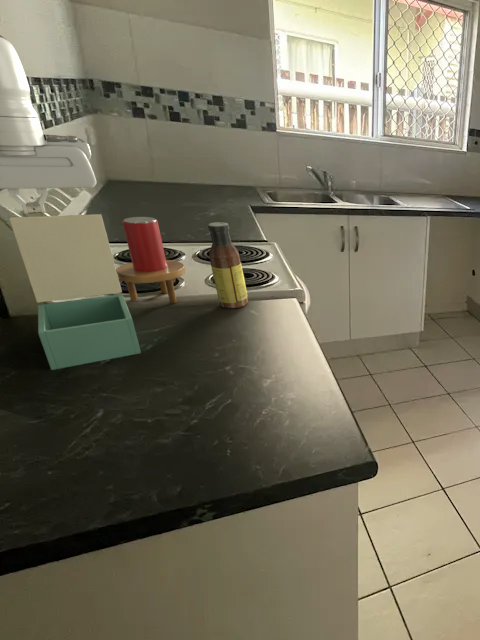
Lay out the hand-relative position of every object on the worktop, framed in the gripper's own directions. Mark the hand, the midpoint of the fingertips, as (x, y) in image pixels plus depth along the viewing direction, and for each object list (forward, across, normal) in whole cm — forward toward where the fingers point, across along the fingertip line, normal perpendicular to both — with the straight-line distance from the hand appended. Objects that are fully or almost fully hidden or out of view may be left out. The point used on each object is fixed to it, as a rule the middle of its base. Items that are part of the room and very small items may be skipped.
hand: (35, 213), depth 89 cm
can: (+15, -16, -9) cm, 24 cm away
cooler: (+23, -3, +14) cm, 28 cm away
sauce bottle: (+24, -30, +2) cm, 38 cm away
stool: (+23, -16, -9) cm, 30 cm away
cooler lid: (+7, -3, +6) cm, 10 cm away
